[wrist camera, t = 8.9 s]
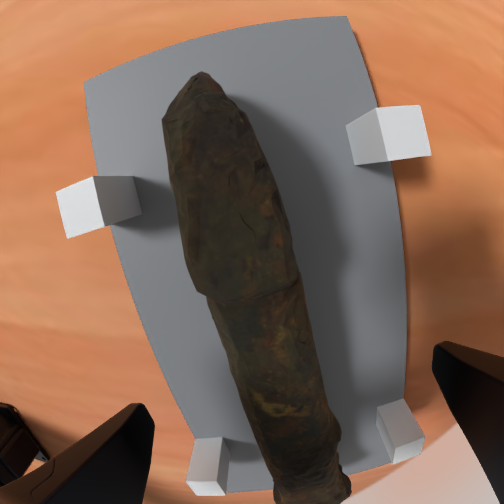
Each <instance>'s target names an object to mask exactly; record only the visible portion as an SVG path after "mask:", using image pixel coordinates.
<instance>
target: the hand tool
mask: <svg viewBox="0 0 504 504" xmlns="http://www.w3.org/2000/svg"><path fill="white" fill-rule="evenodd" d="M161 121H162V128H163V136H164V143H165V149H166V154H167V162H168V172H169V181H170V185H171V187H172V190H173V193H174V197H175V202H176V207H177V213H178V221H179V229H180V235H181V241H182V246H183V253H184V259H185V263H186V267H187V269H188V272H189V275H190V277H191V279H192V282H193V284H194V286H195V288H196V291H197V292H199V293H201V294H203V295H205V296H206V300H207V305H208V308H209V310H210V313H211V315H212V319H213V320H214V323H215V326H216V328H217V331H218V334H219V337H220V340H221V343H222V345H223V347H224V349H225V351H226V354H227V358H228V362H229V367H230V371H231V374H232V376H233V379H234V381H235V384H236V386H237V389H238V393H239V397H240V400H241V403H242V406H243V409H244V411H245V414H246V416H247V419H248V421H249V424H250V426H251V429H252V431H253V434H254V437H255V439H256V442H257V444H258V446H259V449H260V451H261V454H262V456H263V458H264V461H265V464H266V466H267V468H268V470H269V472H270V474H271V476H272V478H273V482H274V486H273V495H274V501H275V503H276V504H340V503H341V502H342V501H344V500H345V499H347V498H348V497H349V496H350V494H351V492H352V491H351V481H350V479H349V477H348V476H347V475H345V474H344V473H343V472H342V466H341V465H340V464H339V453H338V452H337V446H338V442H340V441H341V435H342V430H341V427H340V424H339V422H338V420H337V419H336V417H335V415H334V414H333V412H332V411H331V410H330V408H329V406H328V401H327V397H326V393H325V389H324V384H323V378H322V373H321V368H320V365H319V361H318V358H317V353H316V348H315V343H314V339H313V333H312V327H311V323H310V319H309V315H308V309H307V306H306V299H305V293H304V287H303V282H302V277H301V273H300V271H299V268H298V265H297V263H296V258H295V255H294V252H293V244H292V236H291V230H290V224H289V221H288V218H287V215H286V212H285V209H284V205H283V202H282V198H281V195H280V193H279V189H278V187H277V184H276V181H275V179H274V176H273V174H272V171H271V168H270V166H269V164H268V162H267V159H266V157H265V155H264V153H263V151H262V149H261V147H260V144H259V142H258V140H257V137H256V135H255V132H254V130H253V127H252V125H251V123H250V122H249V118H248V116H247V114H246V112H243V111H242V110H240V109H239V108H238V107H237V105H236V103H235V102H233V101H232V100H231V99H229V98H228V97H227V96H226V94H225V92H224V90H223V89H222V87H221V85H220V84H219V83H217V82H216V81H215V80H214V79H213V78H212V77H211V76H210V74H208V73H205V72H202V71H201V72H198V73H197V74H196V75H193V76H191V78H190V79H189V80H188V81H187V83H186V84H185V85H184V87H183V88H182V89H181V90H180V91H179V92H178V94H177V96H176V97H175V98H174V100H173V101H172V102H171V103H170V105H169V106H168V109H167V111H166V114H165V115H164V117H163V118H162V119H161Z"/></svg>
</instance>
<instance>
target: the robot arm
mask: <svg viewBox="0 0 504 504" xmlns="http://www.w3.org/2000/svg"><path fill="white" fill-rule="evenodd" d="M432 371H433V374H434V376H435V378H436V380H437V382H438V385H439V387H440V389H441V391H442V393H443V395H444V398H445V400H446V402H447V404H448V406H449V409H450V410H451V412H452V414H453V416H454V417H455V419H456V421H457V423H458V424H459V426H460V428H461V429H462V431H463V433H464V435H465V436H466V438H467V440H468V442H469V444H470V445H471V447H472V449H473V451H474V453H475V454H476V456H477V458H478V460H479V462H480V464H481V466H482V468H483V470H484V472H485V474H486V476H487V478H488V480H489V481H490V483H491V486H492V488H493V490H494V492H495V494H496V496H497V498H498V500H499V502H500V504H504V357H500V356H497V355H493V354H490V353H486V352H483V351H479V350H476V349H473V348H469V347H466V346H462V345H459V344H456V343H452V342H449V341H444V342H441V343H438V344H436V345H435V346H434V350H433V360H432ZM154 430H155V424H154V421H153V419H152V417H151V416H150V414H149V412H148V410H147V408H146V407H145V405H144V404H142V403H131V404H129V405H128V406H127V407H125V408H124V409H122V410H121V411H120V412H118V413H117V414H116V415H114V416H113V417H112V418H110V419H109V420H107V421H106V422H105V423H103V424H102V425H100V426H99V427H98V428H96V429H95V430H93V431H92V432H91V433H89V434H88V435H86V436H85V437H83V438H82V439H81V440H79V441H78V442H76V443H75V444H73V445H72V446H71V447H69V448H68V449H66V450H65V451H63V452H62V453H60V454H59V455H57V456H56V458H53V459H51V460H50V457H49V456H48V455H47V454H46V453H45V451H44V450H43V449H42V448H41V446H40V445H39V444H38V443H37V441H36V440H35V439H34V437H33V436H32V435H31V433H30V432H29V431H28V429H27V428H26V427H25V425H24V424H23V422H22V421H21V420H20V418H19V417H18V415H17V414H16V412H15V411H14V409H13V408H12V407H11V406H9V405H5V404H0V504H142V502H143V497H144V492H145V488H146V483H147V479H148V474H149V470H150V464H151V456H152V447H153V439H154ZM34 459H38V460H41V461H44V462H47V463H45V464H44V465H42V466H40V467H39V468H37V469H35V470H34V471H32V472H30V473H28V474H26V475H24V474H25V473H26V471H27V470H28V468H29V467H30V465H31V464H32V462H33V461H34ZM49 460H50V461H49Z"/></svg>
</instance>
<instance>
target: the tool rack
mask: <svg viewBox="0 0 504 504" xmlns="http://www.w3.org/2000/svg"><path fill="white" fill-rule="evenodd" d="M201 71H202V72H205V73H208V74H210V76H211V77H212V78H213V79H214V80H215V81H216V82H217V83H219V84H220V85H221V87H222V89H223V90H224V92H225V94H226V96H227V97H228V98H229V99H231V100H232V101H233V102H235V103H236V105H237V107H238V108H239V109H240V110H242V111H243V112H246V114H247V116H248V118H249V122H250V123H251V125H252V127H253V130H254V132H255V135H256V137H257V140H258V142H259V144H260V147H261V149H262V151H263V153H264V155H265V157H266V159H267V162H268V164H269V166H270V168H271V171H272V174H273V176H274V179H275V181H276V184H277V187H278V189H279V193H280V195H281V198H282V202H283V205H284V209H285V212H286V215H287V218H288V221H289V224H290V230H291V236H292V244H293V252H294V255H295V258H296V263H297V265H298V268H299V271H300V273H301V277H302V282H303V287H304V293H305V299H306V306H307V309H308V315H309V319H310V323H311V327H312V333H313V339H314V343H315V348H316V353H317V358H318V361H319V365H320V368H321V373H322V378H323V384H324V389H325V393H326V397H327V401H328V406H329V408H330V410H331V411H332V412H333V414H334V415H335V417H336V419H337V420H338V422H339V424H340V427H341V430H342V435H341V441H340V442H338V446H337V452H338V453H339V464H340V465H341V466H342V472H343V473H344V474H345V475H351V474H355V473H358V472H362V471H365V470H369V469H372V468H375V467H379V466H382V465H385V464H388V463H391V462H392V465H393V464H396V463H399V462H401V461H404V460H407V459H409V458H412V457H415V456H417V455H420V454H421V451H422V447H423V444H424V440H425V435H424V433H423V431H422V430H421V428H420V426H419V424H418V423H417V421H416V419H415V417H414V416H413V414H412V412H411V410H410V409H409V407H408V405H407V403H406V402H405V400H404V386H405V371H406V348H407V301H406V278H405V263H404V251H403V240H402V231H401V222H400V215H399V207H398V201H397V194H396V188H395V182H394V176H393V171H392V166H391V161H393V160H400V159H407V158H415V157H422V156H430V155H431V151H430V146H429V141H428V136H427V132H426V127H425V123H424V119H423V115H422V111H421V108H420V105H409V106H393V107H380V108H378V106H377V102H376V99H375V95H374V92H373V88H372V85H371V82H370V79H369V75H368V72H367V69H366V66H365V63H364V60H363V57H362V55H361V52H360V49H359V46H358V44H357V41H356V38H355V36H354V33H353V31H352V28H351V26H350V23H349V21H348V18H347V16H333V17H315V18H303V19H293V20H284V21H277V22H270V23H263V24H257V25H252V26H246V27H241V28H236V29H232V30H227V31H223V32H218V33H214V34H210V35H206V36H203V37H199V38H195V39H192V40H188V41H185V42H182V43H179V44H175V45H172V46H169V47H166V48H163V49H160V50H158V51H155V52H152V53H149V54H147V55H144V56H141V57H139V58H136V59H134V60H131V61H129V62H126V63H124V64H122V65H119V66H117V67H115V68H113V69H110V70H108V71H106V72H104V73H102V74H100V75H97V76H95V77H93V78H91V79H89V80H87V81H85V82H84V89H85V98H86V106H87V114H88V121H89V128H90V134H91V140H92V146H93V152H94V157H95V162H96V167H97V172H98V176H92V177H90V178H87V179H85V180H82V181H80V182H78V183H75V184H73V185H71V186H68V187H66V188H64V189H62V190H59V191H57V192H56V195H57V200H58V204H59V209H60V213H61V217H62V221H63V225H64V229H65V233H66V236H67V239H69V238H72V237H74V236H77V235H80V234H84V233H87V232H90V231H93V230H96V229H99V228H102V227H105V226H108V225H110V227H111V231H112V234H113V238H114V241H115V245H116V248H117V252H118V255H119V258H120V261H121V265H122V268H123V271H124V274H125V277H126V280H127V283H128V286H129V289H130V292H131V295H132V298H133V300H134V303H135V306H136V309H137V311H138V314H139V317H140V320H141V322H142V325H143V327H144V330H145V332H146V335H147V337H148V340H149V342H150V345H151V347H152V350H153V352H154V354H155V357H156V359H157V361H158V364H159V366H160V368H161V370H162V373H163V375H164V377H165V379H166V381H167V384H168V386H169V388H170V390H171V392H172V394H173V396H174V398H175V400H176V402H177V404H178V406H179V408H180V410H181V412H182V414H183V416H184V418H185V420H186V422H187V424H188V426H189V428H190V430H191V432H192V433H193V435H194V437H195V443H194V447H193V451H192V456H191V460H190V464H189V469H188V473H187V478H186V482H187V484H188V485H189V486H190V488H191V489H192V490H193V492H194V493H195V494H196V495H197V496H226V491H227V492H228V493H235V492H250V491H262V490H271V489H273V486H274V482H273V478H272V476H271V474H270V472H269V470H268V468H267V466H266V464H265V461H264V458H263V456H262V454H261V451H260V449H259V446H258V444H257V442H256V439H255V437H254V434H253V431H252V429H251V426H250V424H249V421H248V419H247V416H246V414H245V411H244V409H243V406H242V403H241V400H240V397H239V393H238V389H237V386H236V384H235V381H234V379H233V376H232V374H231V371H230V367H229V362H228V358H227V354H226V351H225V349H224V347H223V345H222V343H221V340H220V337H219V334H218V331H217V328H216V326H215V323H214V320H213V319H212V315H211V313H210V310H209V308H208V305H207V300H206V296H205V295H203V294H201V293H199V292H197V291H196V288H195V286H194V284H193V282H192V279H191V277H190V275H189V272H188V269H187V267H186V263H185V259H184V253H183V246H182V241H181V235H180V229H179V221H178V213H177V207H176V202H175V197H174V193H173V190H172V187H171V185H170V181H169V172H168V162H167V154H166V149H165V143H164V136H163V128H162V121H161V119H162V118H163V117H164V115H165V114H166V111H167V109H168V106H169V105H170V103H171V102H172V101H173V100H174V98H175V97H176V96H177V94H178V92H179V91H180V90H181V89H182V88H183V87H184V85H185V84H186V83H187V81H188V80H189V79H190V78H191V76H193V75H196V74H197V73H198V72H201Z"/></svg>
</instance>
